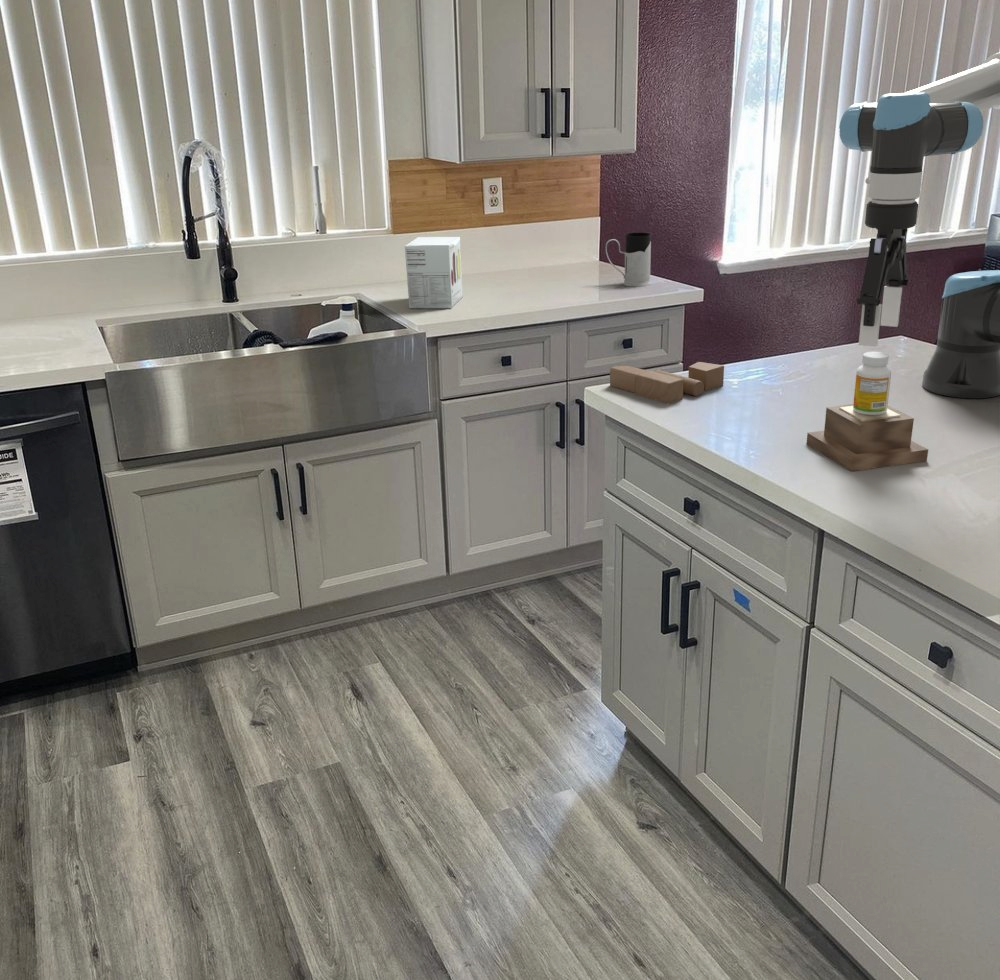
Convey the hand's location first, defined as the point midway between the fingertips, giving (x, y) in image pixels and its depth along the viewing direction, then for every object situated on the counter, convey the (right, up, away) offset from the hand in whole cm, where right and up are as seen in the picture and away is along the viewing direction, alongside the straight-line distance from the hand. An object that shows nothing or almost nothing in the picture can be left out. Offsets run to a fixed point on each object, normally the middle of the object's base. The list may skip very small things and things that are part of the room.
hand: (878, 335), depth 162 cm
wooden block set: (-27, -4, +47) cm, 54 cm away
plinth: (+1, -19, +8) cm, 20 cm away
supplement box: (-80, +30, +133) cm, 158 cm away
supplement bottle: (0, -12, +5) cm, 13 cm away
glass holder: (-22, +39, +147) cm, 154 cm away
